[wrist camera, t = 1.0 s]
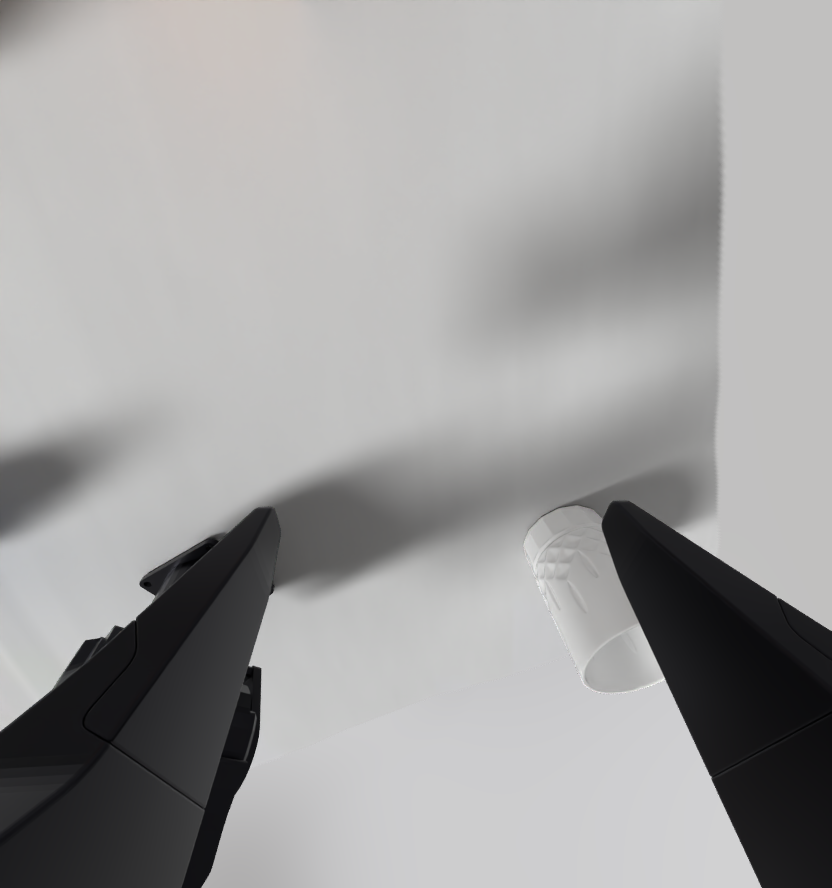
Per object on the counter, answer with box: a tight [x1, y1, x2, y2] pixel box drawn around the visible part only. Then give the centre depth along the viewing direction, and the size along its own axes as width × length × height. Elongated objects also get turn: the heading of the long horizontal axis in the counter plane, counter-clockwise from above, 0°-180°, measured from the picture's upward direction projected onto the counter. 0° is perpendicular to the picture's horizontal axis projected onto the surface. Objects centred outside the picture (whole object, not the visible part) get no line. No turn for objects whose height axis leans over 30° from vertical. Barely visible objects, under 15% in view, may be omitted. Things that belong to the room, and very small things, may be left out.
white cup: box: [523, 505, 665, 694], centre depth 25 cm, size 8×8×10 cm
